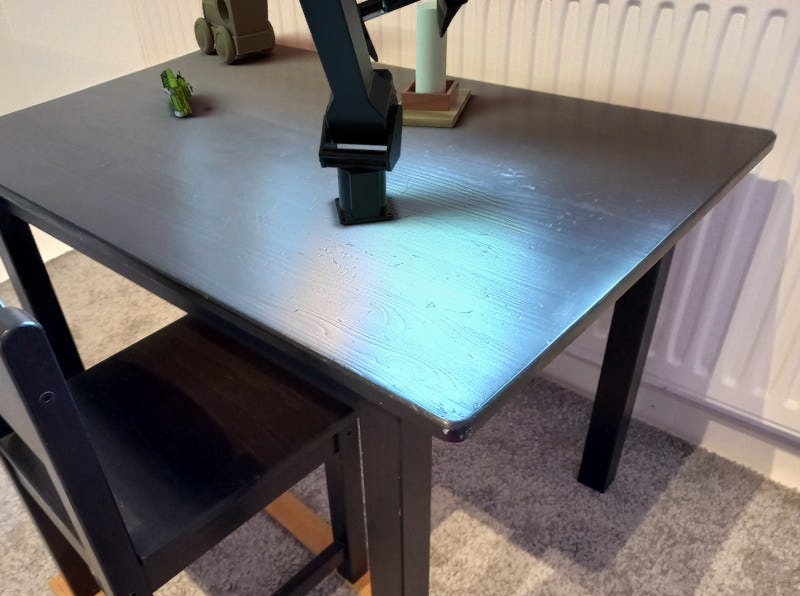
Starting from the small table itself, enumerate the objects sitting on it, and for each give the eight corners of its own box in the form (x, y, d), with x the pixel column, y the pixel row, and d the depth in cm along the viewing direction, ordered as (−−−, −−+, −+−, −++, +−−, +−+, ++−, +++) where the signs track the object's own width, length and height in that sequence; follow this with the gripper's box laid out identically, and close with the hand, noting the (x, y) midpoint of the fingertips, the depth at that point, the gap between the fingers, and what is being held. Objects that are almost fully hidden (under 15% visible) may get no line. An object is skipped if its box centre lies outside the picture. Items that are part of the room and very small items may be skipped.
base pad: (452, 127, 105) (453, 102, 102) (387, 124, 108) (387, 100, 106) (470, 96, 115) (471, 72, 113) (410, 94, 118) (410, 71, 116)
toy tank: (150, 90, 113) (208, 67, 113) (144, 60, 128) (196, 40, 128) (168, 131, 118) (224, 109, 118) (161, 98, 132) (210, 78, 133)
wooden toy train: (284, 58, 141) (274, -36, 131) (233, 70, 137) (218, -25, 127) (241, 39, 155) (229, -47, 145) (193, 50, 151) (177, -37, 141)
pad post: (450, 99, 111) (453, 1, 102) (437, 108, 108) (439, 9, 99) (424, 96, 113) (424, 0, 104) (410, 105, 110) (410, 7, 102)
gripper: (447, -126, 85) (455, -17, 99) (302, -66, 87) (329, 31, 101) (478, -67, 80) (481, 38, 94) (323, -6, 83) (349, 88, 97)
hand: (408, 47), depth 97 cm, fingers open, 9 cm apart
